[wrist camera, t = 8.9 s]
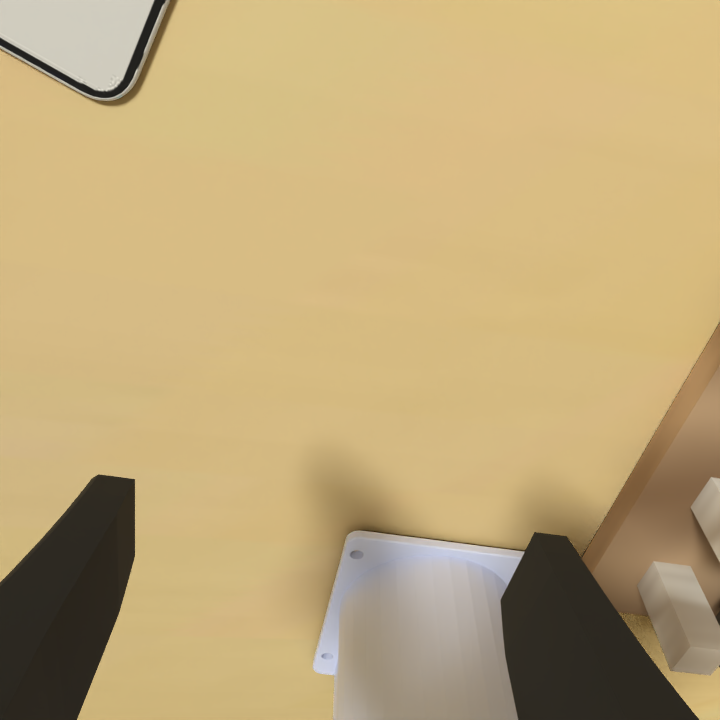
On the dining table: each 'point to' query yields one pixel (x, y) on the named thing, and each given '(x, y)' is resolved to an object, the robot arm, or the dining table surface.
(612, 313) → the dining table surface
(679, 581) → the board
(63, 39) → the smartphone
